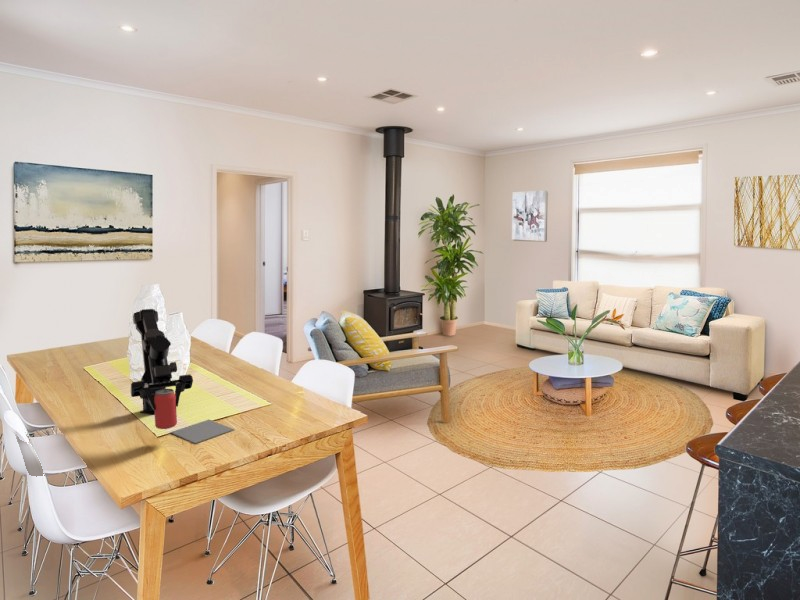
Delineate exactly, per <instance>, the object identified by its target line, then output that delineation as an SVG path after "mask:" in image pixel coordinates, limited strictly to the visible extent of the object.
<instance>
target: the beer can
mask: <svg viewBox="0 0 800 600" xmlns="http://www.w3.org/2000/svg"><path fill="white" fill-rule="evenodd" d="M154 404H155V410H154V412H155V414H154V424H155V425H154V426H155V427H156V429H159V430H168V429H172V428H174V427H175V426H177V423H178V415H177V414H178V413H177V407H176V396H175V390H174V389H172V388H166V389H161V390H158V391H156V392H155V396H154Z"/></svg>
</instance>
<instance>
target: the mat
mask: <svg viewBox="0 0 800 600" xmlns="http://www.w3.org/2000/svg"><path fill="white" fill-rule="evenodd" d="M233 431H235V429H234V428H232V427H229V426H227V425H224V424H222V423H219V422H217V421H214V420H212V419H206V420H204V421H200V422H196V423H195V424H191V425H187V426H185V427H182V428H179V429H175V430H173V431H171V432H170V434H172V435H174V436H176V437H178V438H180V439H183V440H184V441H187V442H190V443H192V444H195V445H198V444H200V443H203V442H205V441H209V440H211V439H213V438H217V437H219V436H222V435H225V434H227V433H231V432H233Z"/></svg>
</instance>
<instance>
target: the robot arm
mask: <svg viewBox="0 0 800 600" xmlns="http://www.w3.org/2000/svg"><path fill="white" fill-rule="evenodd" d="M132 321H133V322H132V323H133V325H135V330H137V332H138V333H139V334H140V339H141V346H142V347H141V349H142V361H143V369H144V372H143V375H142V376H141V378H140V380H138V381H132V382H131V383H130V396H131V397H132V398H135V397H136V398H137V397H139V398H140V400H141V399H142V410H140V411H139V413H141V414H143V413H144V414H149V415H155V412H154V410H155V404H154V396H155V392H156V391H158V390H161V389H167V388H170V387H175V390H174V393H175V396H176V408H177V407H179V402H180V397H181V393H183V392H185V390H189V389H191V388H192V387H193V383H194V378H193V376H192V374H182V375H179V377H178V379H173V380H172V378H173V375H172V373H176V372H177V371H178V365H177V362H176V361H174V362H170V363H169V361H168V356H169V349H170V346H171V345H172V343H171V341H170V340H169V339H168V337H166V336H165V333H164V331H162V330H160V328H159V327H158V326H159V325H158V321H159V313H158V311H157V310H155V309H153V308H145V309H141V310H139V311H136V312H133V315H132Z"/></svg>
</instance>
